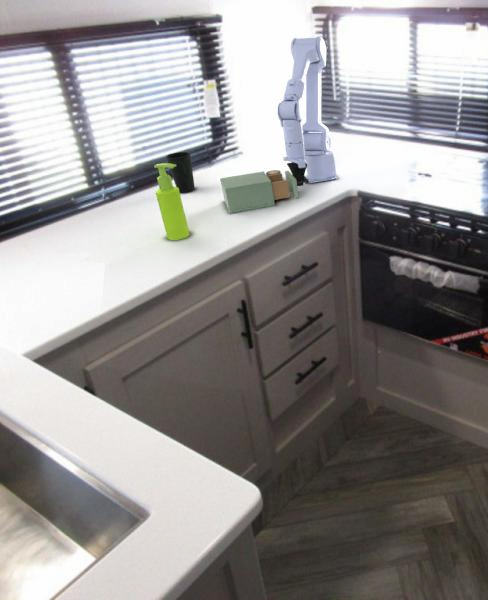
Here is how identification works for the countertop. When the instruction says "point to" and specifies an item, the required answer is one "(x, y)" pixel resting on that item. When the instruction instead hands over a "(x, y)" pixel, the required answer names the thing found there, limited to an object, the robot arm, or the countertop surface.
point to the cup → (182, 171)
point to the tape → (273, 172)
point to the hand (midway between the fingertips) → (299, 185)
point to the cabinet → (247, 192)
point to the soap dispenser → (171, 205)
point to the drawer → (285, 185)
